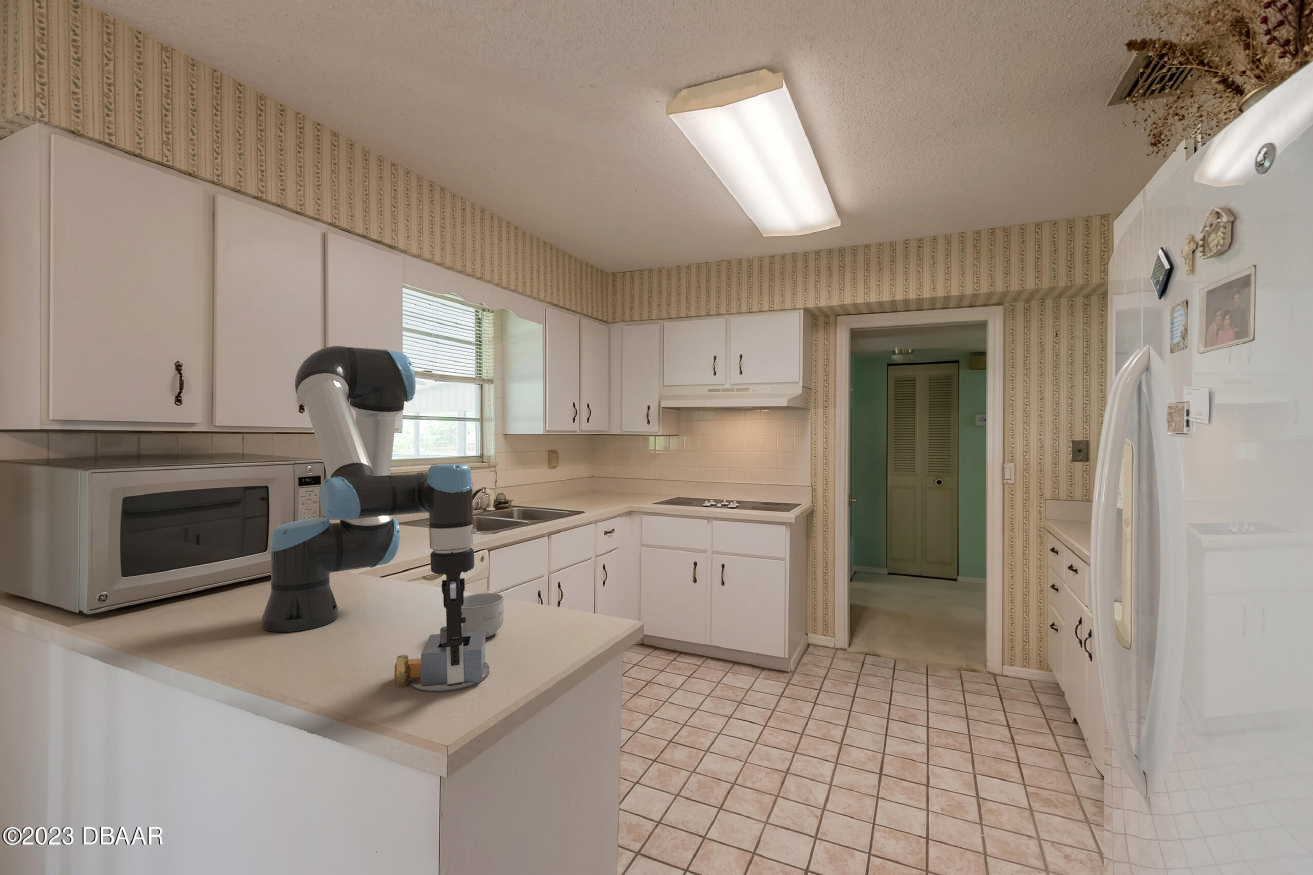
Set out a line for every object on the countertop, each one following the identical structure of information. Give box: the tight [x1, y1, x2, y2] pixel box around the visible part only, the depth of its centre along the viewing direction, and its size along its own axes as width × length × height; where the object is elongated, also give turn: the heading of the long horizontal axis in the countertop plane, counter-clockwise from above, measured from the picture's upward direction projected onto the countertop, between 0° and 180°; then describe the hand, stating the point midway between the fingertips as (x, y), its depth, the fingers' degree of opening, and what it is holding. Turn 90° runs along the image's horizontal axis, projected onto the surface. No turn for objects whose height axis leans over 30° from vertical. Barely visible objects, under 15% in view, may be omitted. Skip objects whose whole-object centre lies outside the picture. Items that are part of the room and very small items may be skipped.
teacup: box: [461, 590, 505, 639], centre depth 131 cm, size 14×11×8 cm
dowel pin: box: [396, 654, 409, 688], centre depth 104 cm, size 2×2×5 cm
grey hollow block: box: [393, 631, 486, 686], centre depth 107 cm, size 15×10×6 cm, turn 103°
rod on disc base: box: [408, 626, 490, 693], centre depth 108 cm, size 14×14×9 cm
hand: (456, 670), depth 108 cm, fingers closed on grey hollow block, 10 cm apart
